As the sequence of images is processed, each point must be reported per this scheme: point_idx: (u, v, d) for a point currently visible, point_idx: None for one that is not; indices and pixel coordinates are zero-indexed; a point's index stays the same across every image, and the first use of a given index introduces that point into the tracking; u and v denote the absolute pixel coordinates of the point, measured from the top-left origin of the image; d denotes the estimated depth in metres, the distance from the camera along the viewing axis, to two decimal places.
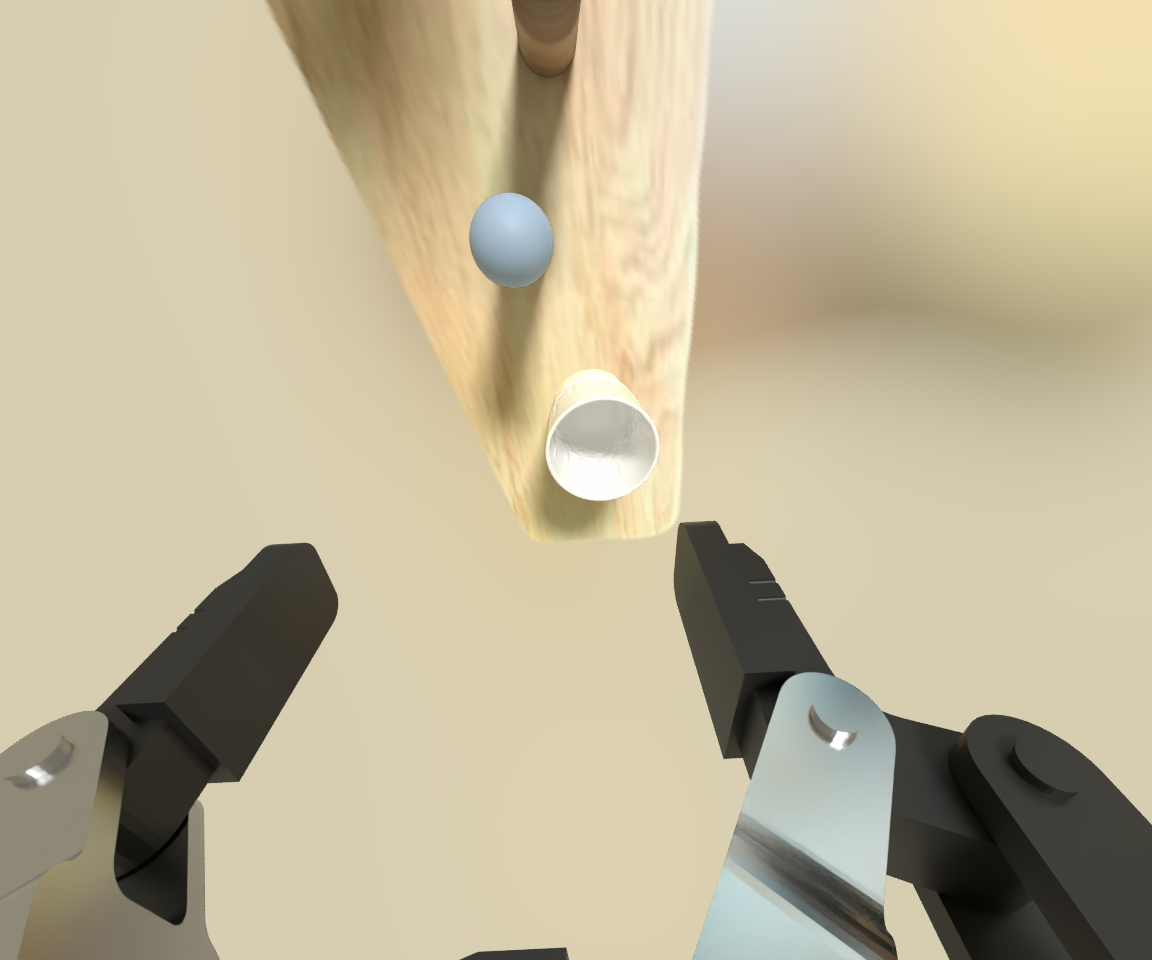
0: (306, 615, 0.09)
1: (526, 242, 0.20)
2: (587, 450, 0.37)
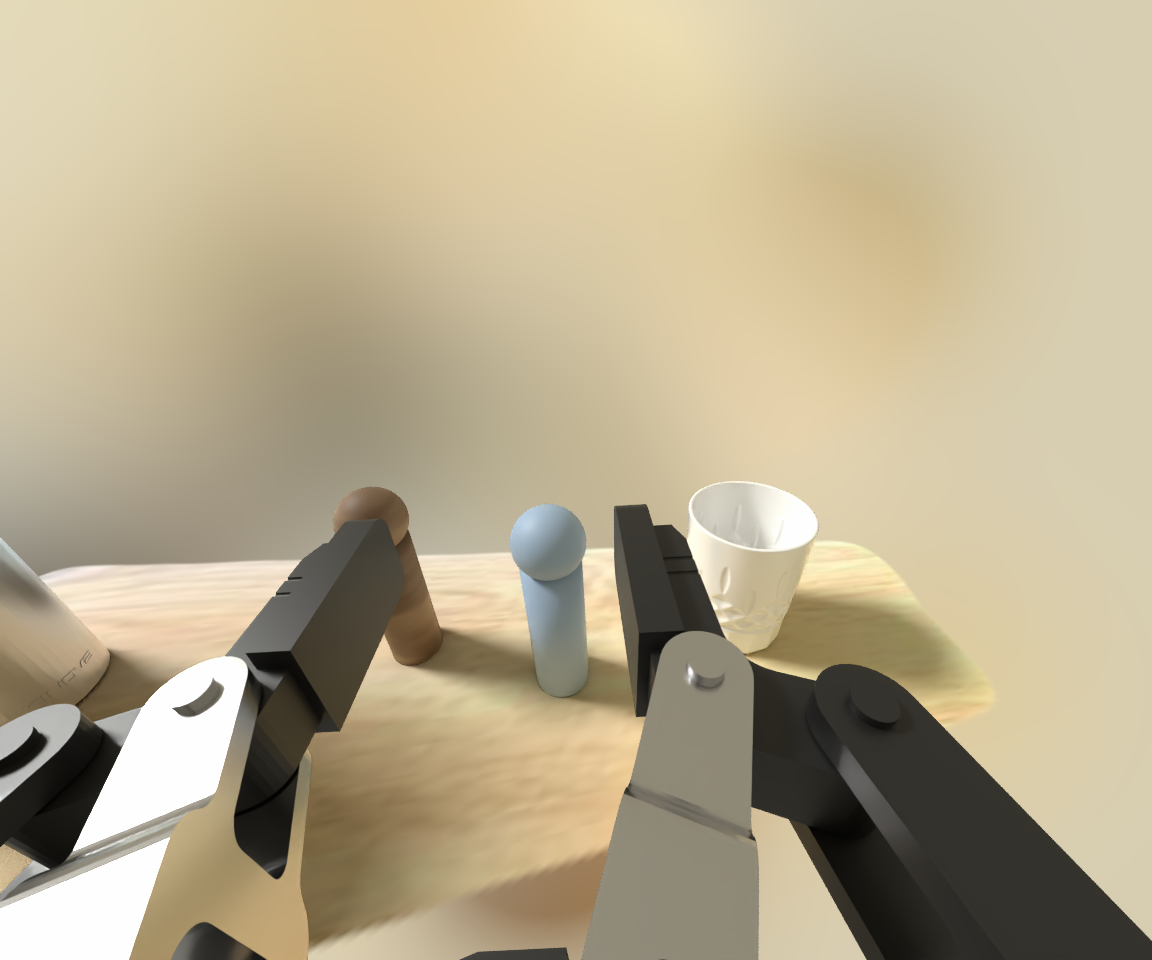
0: (382, 586, 0.09)
1: (547, 505, 0.23)
2: None
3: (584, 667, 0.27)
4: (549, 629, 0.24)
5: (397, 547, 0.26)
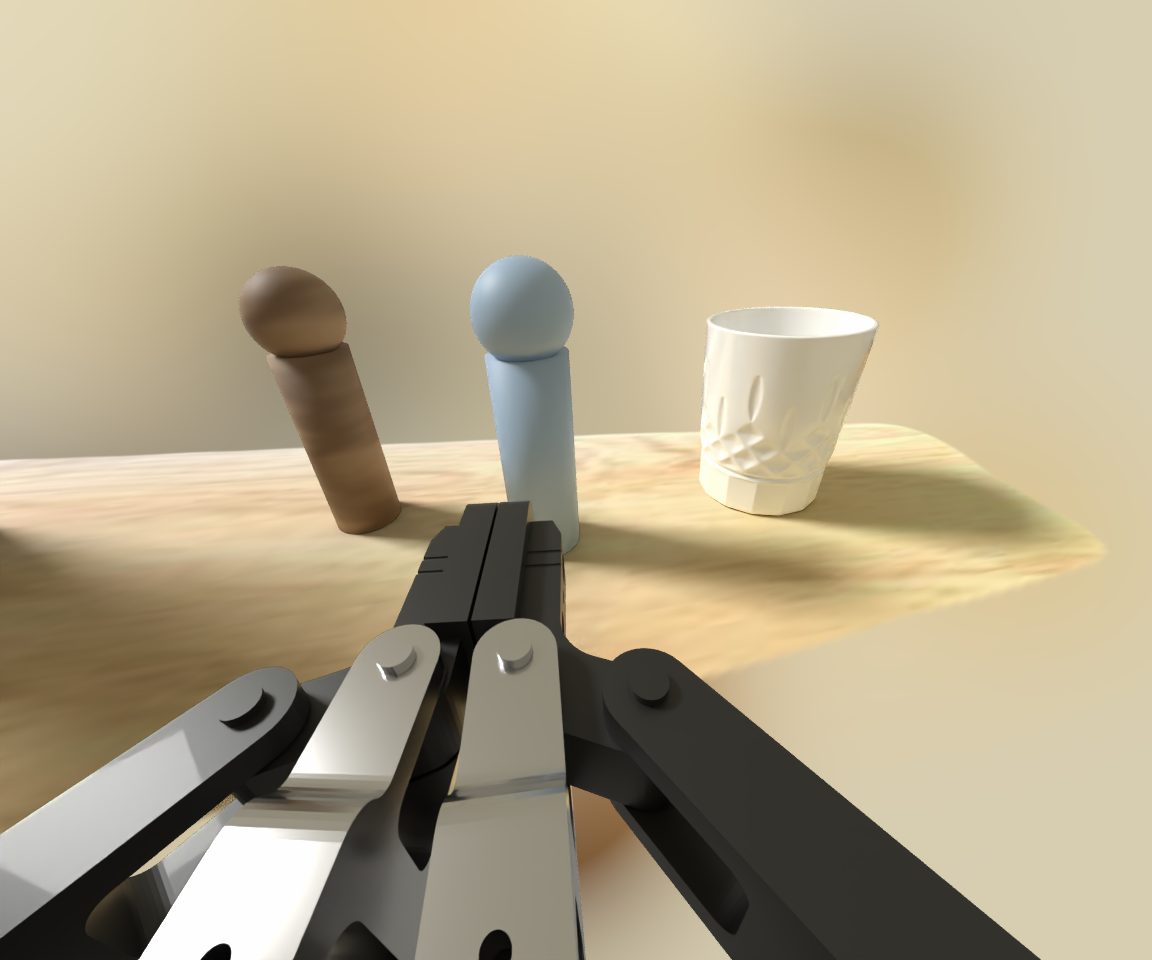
0: None
1: None
2: None
3: (573, 519, 0.21)
4: (525, 443, 0.18)
5: (329, 352, 0.20)
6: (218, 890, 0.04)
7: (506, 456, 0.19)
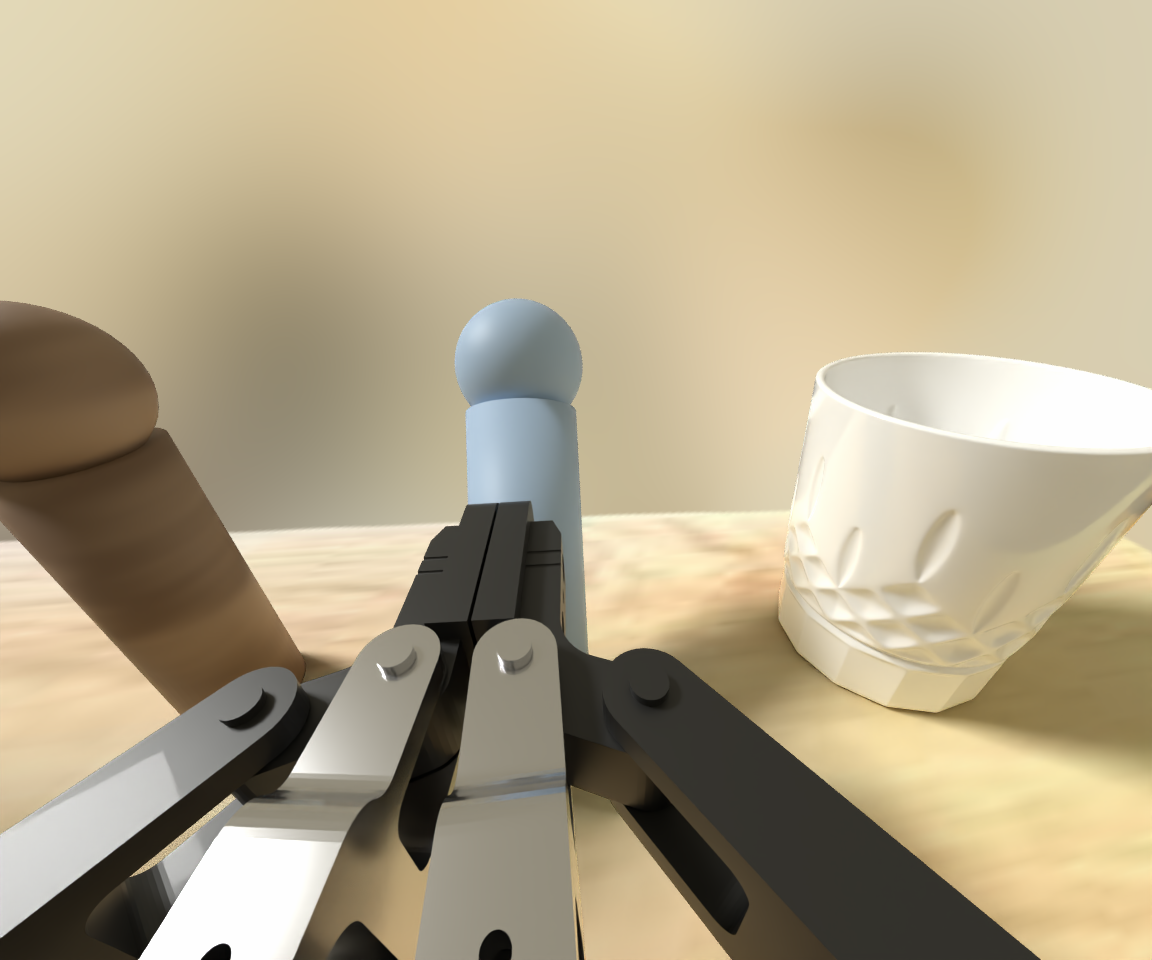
0: None
1: None
2: None
3: None
4: None
5: (104, 465, 0.10)
6: (218, 890, 0.04)
7: None
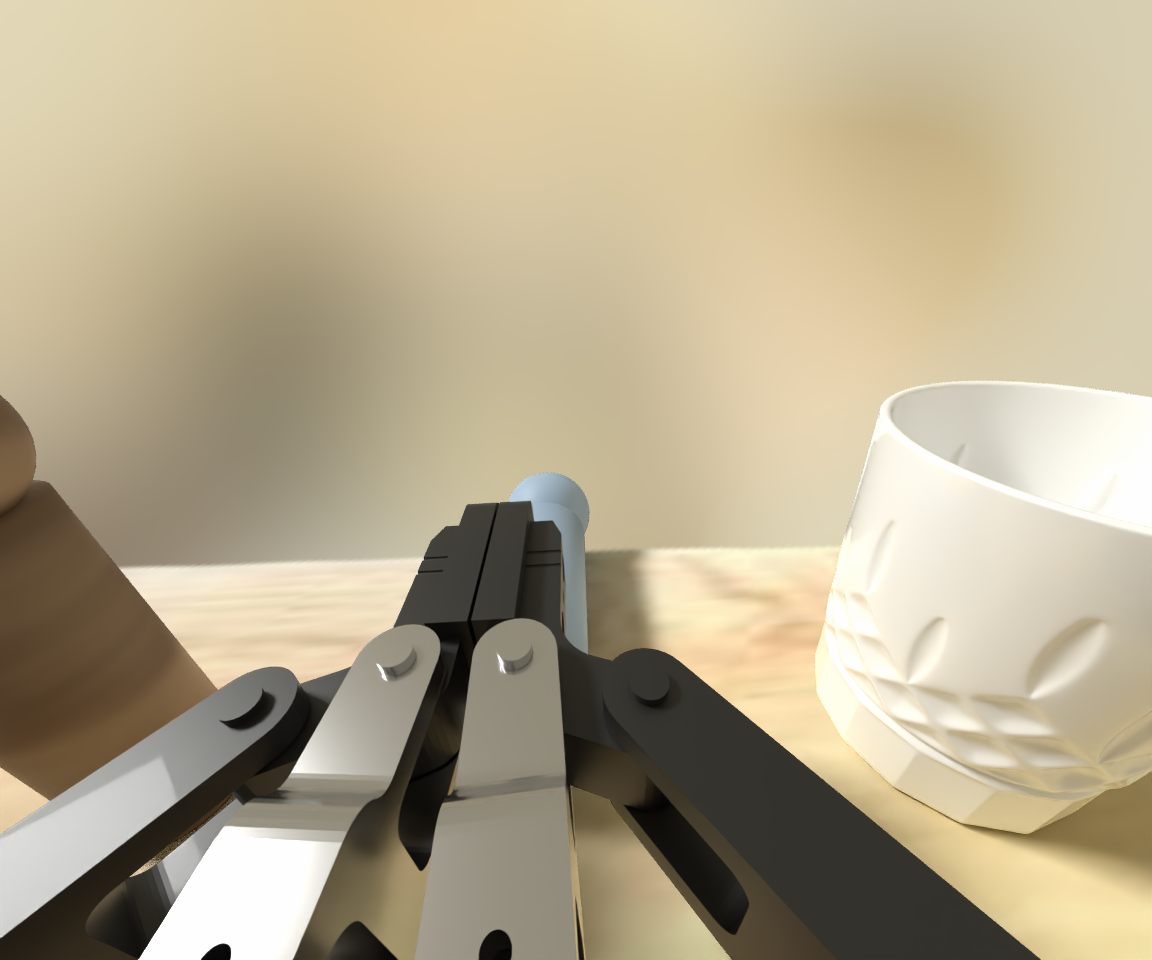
0: None
1: None
2: None
3: None
4: None
5: None
6: (218, 890, 0.04)
7: None
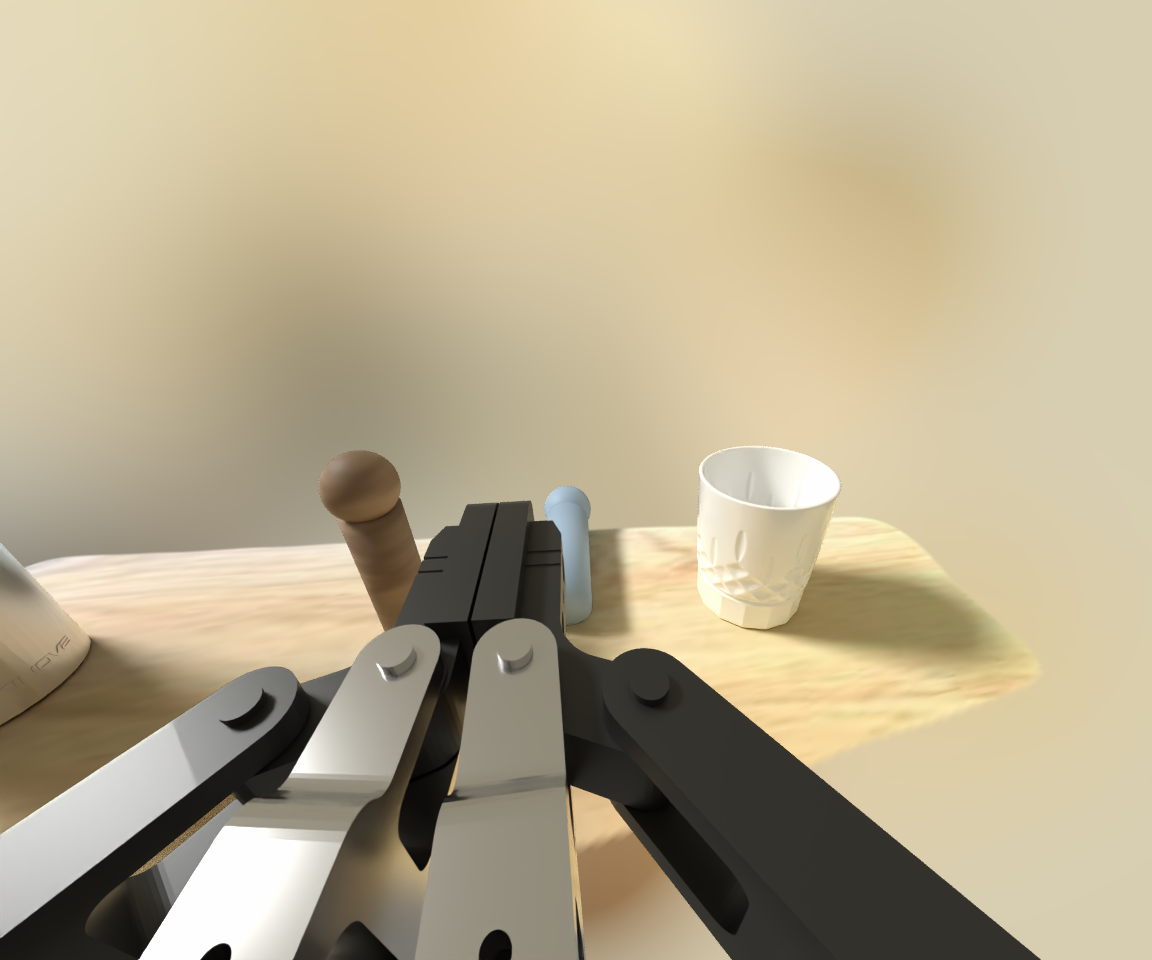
0: None
1: None
2: None
3: (587, 577, 0.29)
4: (561, 526, 0.33)
5: (388, 515, 0.24)
6: (217, 890, 0.04)
7: None
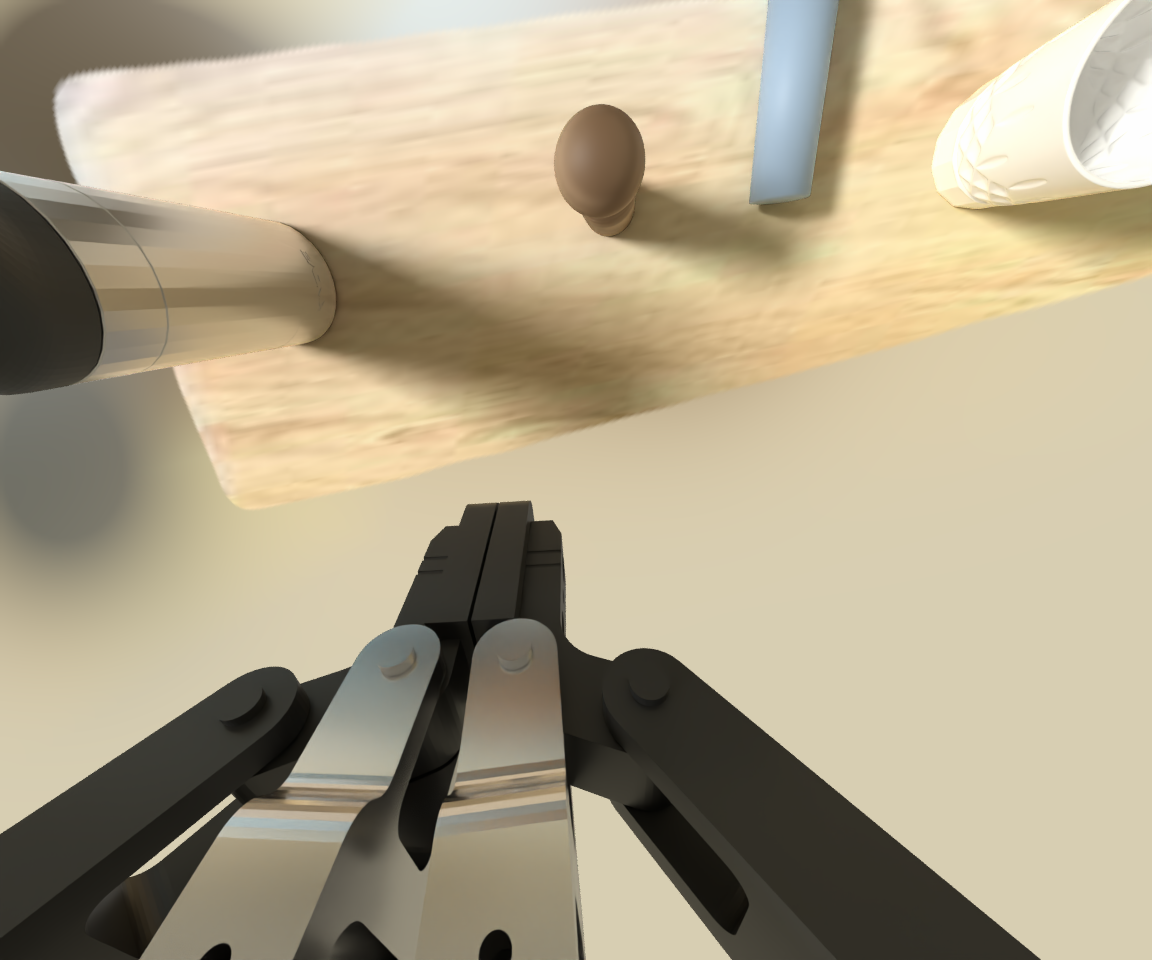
0: None
1: None
2: (1086, 141, 0.24)
3: (814, 161, 0.25)
4: (801, 51, 0.23)
5: None
6: (218, 890, 0.04)
7: (776, 78, 0.24)
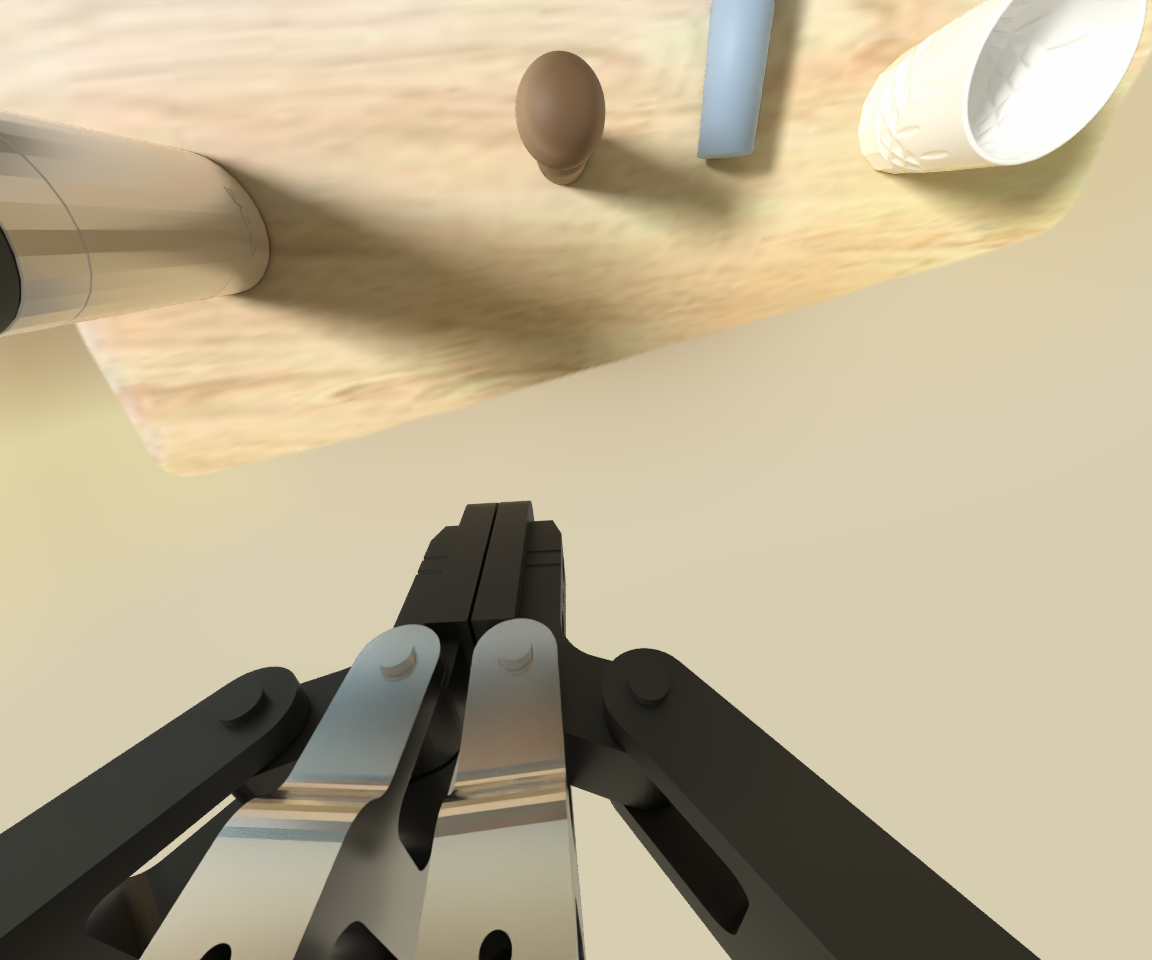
0: None
1: None
2: (982, 116, 0.27)
3: (757, 118, 0.27)
4: (747, 4, 0.24)
5: None
6: (218, 890, 0.04)
7: (724, 30, 0.24)
